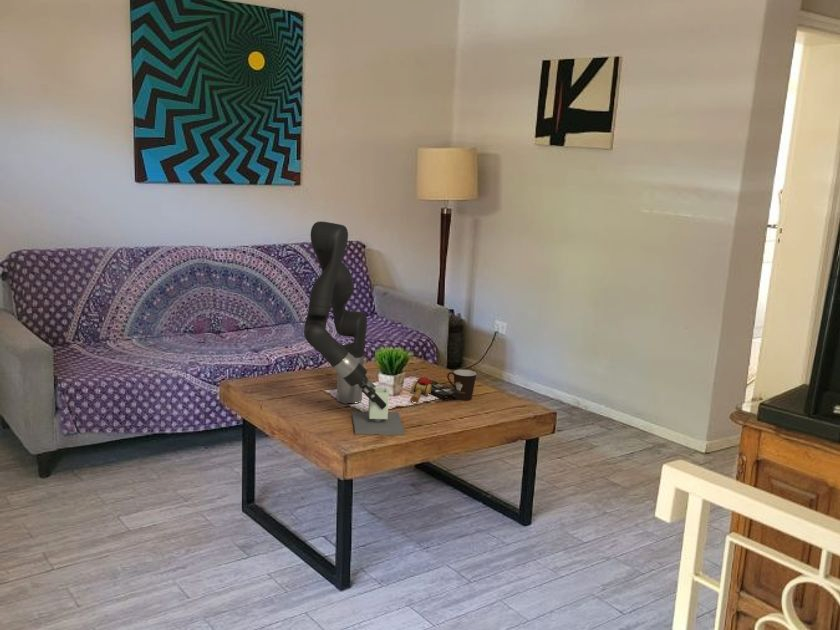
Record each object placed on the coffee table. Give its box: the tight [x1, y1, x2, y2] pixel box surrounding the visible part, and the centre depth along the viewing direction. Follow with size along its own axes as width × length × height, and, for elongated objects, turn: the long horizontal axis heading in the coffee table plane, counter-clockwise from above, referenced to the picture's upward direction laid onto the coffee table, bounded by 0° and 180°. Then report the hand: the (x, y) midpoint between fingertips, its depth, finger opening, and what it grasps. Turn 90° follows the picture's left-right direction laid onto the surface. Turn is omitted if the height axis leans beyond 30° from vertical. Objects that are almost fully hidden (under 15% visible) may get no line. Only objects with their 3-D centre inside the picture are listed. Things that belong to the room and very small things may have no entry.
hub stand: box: [351, 411, 405, 436], centre depth 268 cm, size 18×16×9 cm
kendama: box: [410, 376, 433, 403], centre depth 302 cm, size 8×6×18 cm
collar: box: [367, 387, 390, 419], centre depth 267 cm, size 6×6×9 cm
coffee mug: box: [446, 369, 477, 402], centre depth 304 cm, size 12×9×10 cm
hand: (383, 403), depth 267 cm, fingers closed on collar, 6 cm apart
